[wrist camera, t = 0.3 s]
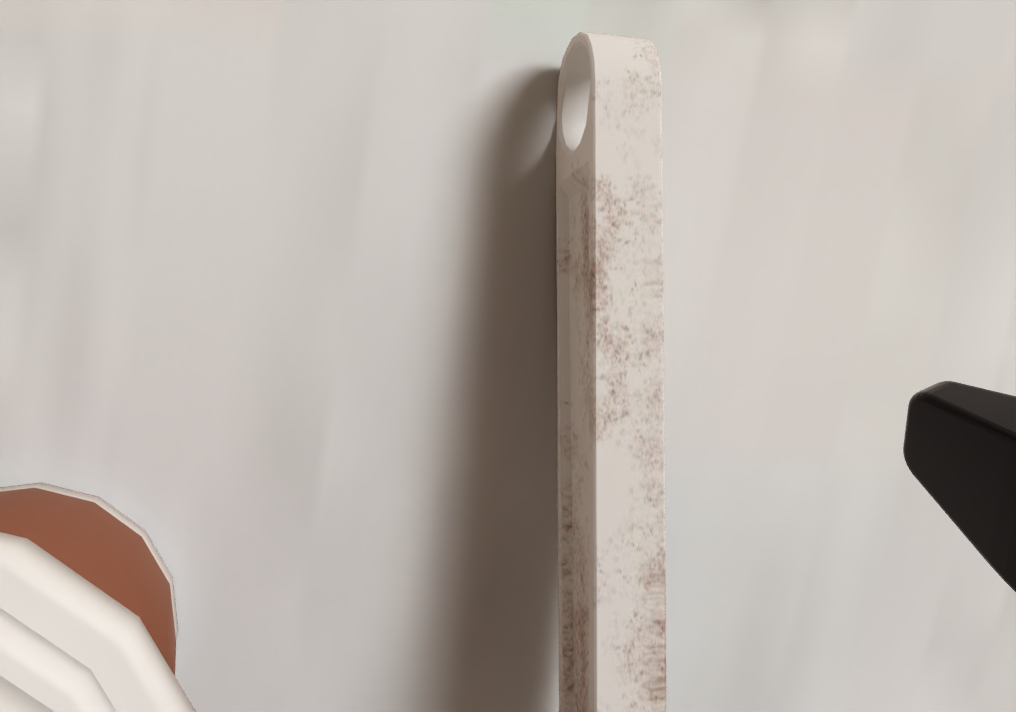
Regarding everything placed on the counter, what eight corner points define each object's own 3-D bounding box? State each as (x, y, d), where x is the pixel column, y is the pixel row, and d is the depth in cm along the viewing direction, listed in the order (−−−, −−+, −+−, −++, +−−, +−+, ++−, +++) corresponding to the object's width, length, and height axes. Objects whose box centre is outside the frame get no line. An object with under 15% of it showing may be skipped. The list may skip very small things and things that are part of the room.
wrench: (586, 99, 27) (590, 1233, 25) (523, 94, 27) (522, 1247, 25) (713, -32, 20) (737, 1595, 17) (627, -44, 19) (640, 1626, 17)
